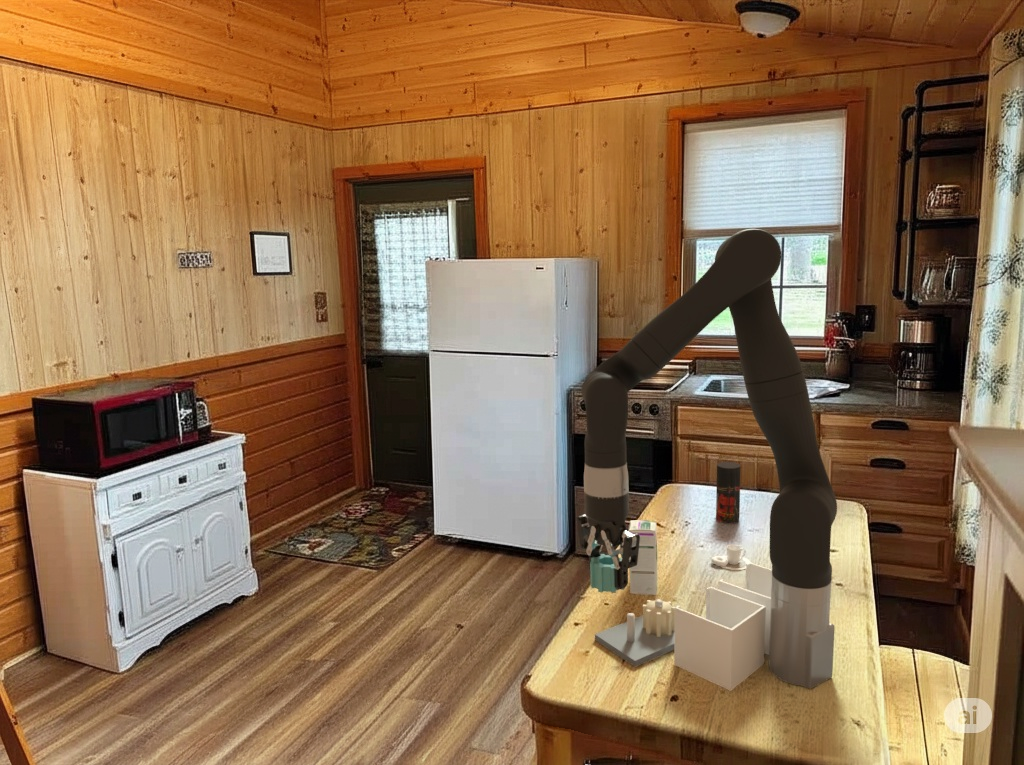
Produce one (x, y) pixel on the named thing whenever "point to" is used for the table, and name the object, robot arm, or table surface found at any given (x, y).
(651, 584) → the syrup box
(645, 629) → the board
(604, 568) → the gear
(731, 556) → the teacup and saucer
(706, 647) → the white folded wall panels
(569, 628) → the table surface
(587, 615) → the table surface
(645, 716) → the table surface
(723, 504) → the deodorant
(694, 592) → the table surface
